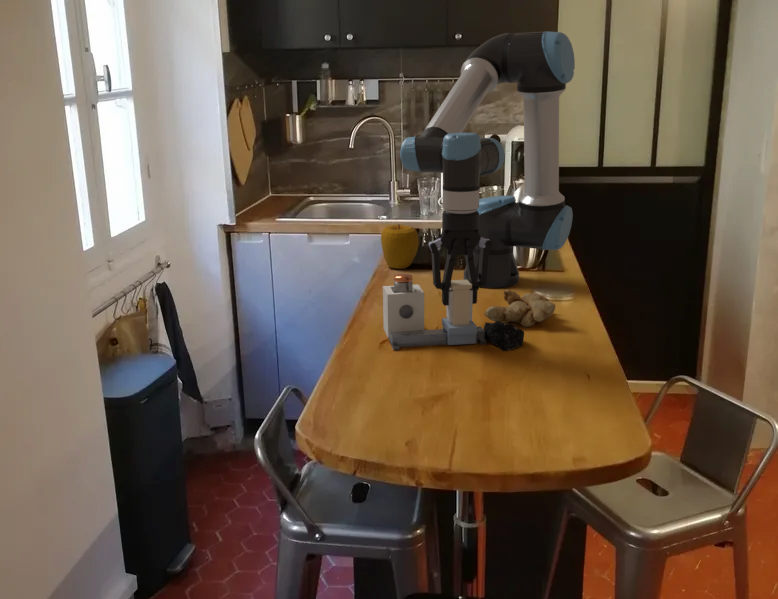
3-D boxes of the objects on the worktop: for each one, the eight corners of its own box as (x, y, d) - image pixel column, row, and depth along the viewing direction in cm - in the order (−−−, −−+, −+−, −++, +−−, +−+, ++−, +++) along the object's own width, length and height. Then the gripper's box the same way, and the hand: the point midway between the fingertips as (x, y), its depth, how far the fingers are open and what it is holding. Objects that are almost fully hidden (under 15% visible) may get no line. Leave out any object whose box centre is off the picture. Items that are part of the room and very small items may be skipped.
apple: (425, 265, 235) (425, 222, 231) (406, 273, 226) (405, 229, 223) (393, 261, 241) (393, 219, 237) (374, 268, 232) (373, 225, 228)
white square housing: (418, 326, 180) (418, 284, 177) (424, 337, 173) (424, 293, 170) (383, 328, 178) (382, 286, 176) (388, 339, 171) (387, 295, 169)
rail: (479, 335, 173) (479, 324, 172) (486, 344, 167) (486, 333, 167) (389, 340, 170) (389, 330, 170) (393, 350, 165) (393, 339, 164)
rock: (503, 333, 175) (504, 308, 173) (531, 347, 166) (533, 320, 164) (476, 338, 172) (477, 313, 170) (504, 353, 163) (505, 326, 161)
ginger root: (566, 309, 187) (565, 279, 183) (550, 344, 175) (548, 313, 171) (502, 303, 193) (500, 274, 190) (482, 337, 181) (479, 307, 177)
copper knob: (410, 299, 176) (410, 273, 174) (413, 304, 172) (413, 278, 170) (392, 300, 175) (392, 274, 174) (395, 305, 172) (395, 278, 170)
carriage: (468, 333, 173) (469, 277, 170) (476, 344, 167) (477, 286, 163) (441, 335, 172) (442, 279, 169) (449, 346, 166) (449, 287, 162)
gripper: (494, 205, 166) (492, 311, 173) (417, 208, 164) (417, 315, 170) (505, 211, 159) (501, 321, 166) (424, 214, 157) (424, 326, 163)
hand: (459, 318), depth 168 cm, fingers closed on carriage, 3 cm apart
